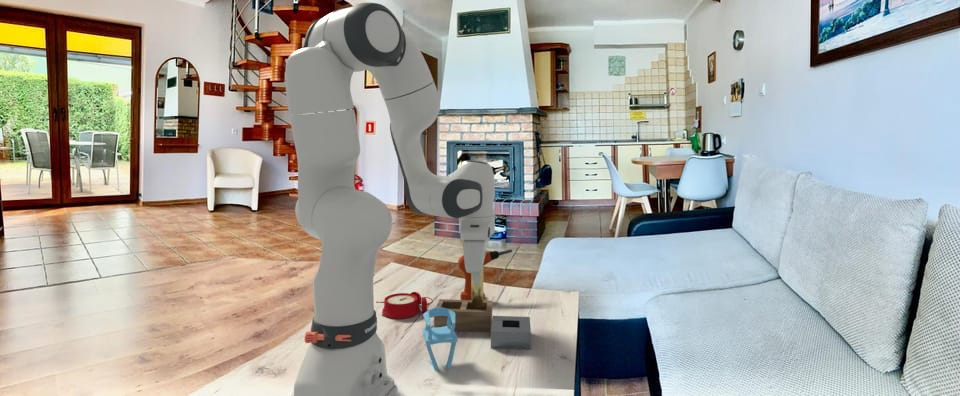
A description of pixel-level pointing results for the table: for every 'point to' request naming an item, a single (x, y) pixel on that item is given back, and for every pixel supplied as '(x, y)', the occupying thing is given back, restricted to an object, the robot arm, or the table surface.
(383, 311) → the alarm clock
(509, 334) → the socket block
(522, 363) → the table surface
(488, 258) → the toy drill
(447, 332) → the chair
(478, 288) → the gold rounded rod
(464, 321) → the box
